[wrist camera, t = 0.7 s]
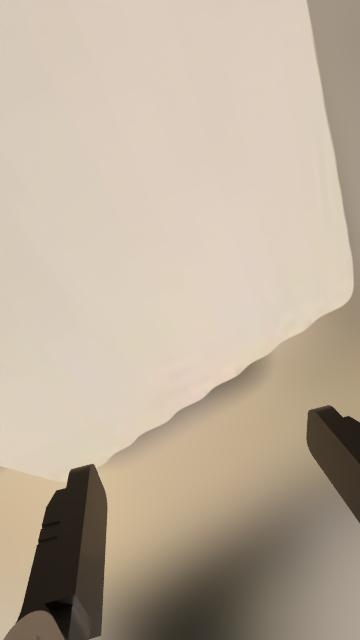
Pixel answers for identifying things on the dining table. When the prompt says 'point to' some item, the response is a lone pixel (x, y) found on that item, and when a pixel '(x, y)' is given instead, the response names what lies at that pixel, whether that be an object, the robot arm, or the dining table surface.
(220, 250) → the dining table surface
